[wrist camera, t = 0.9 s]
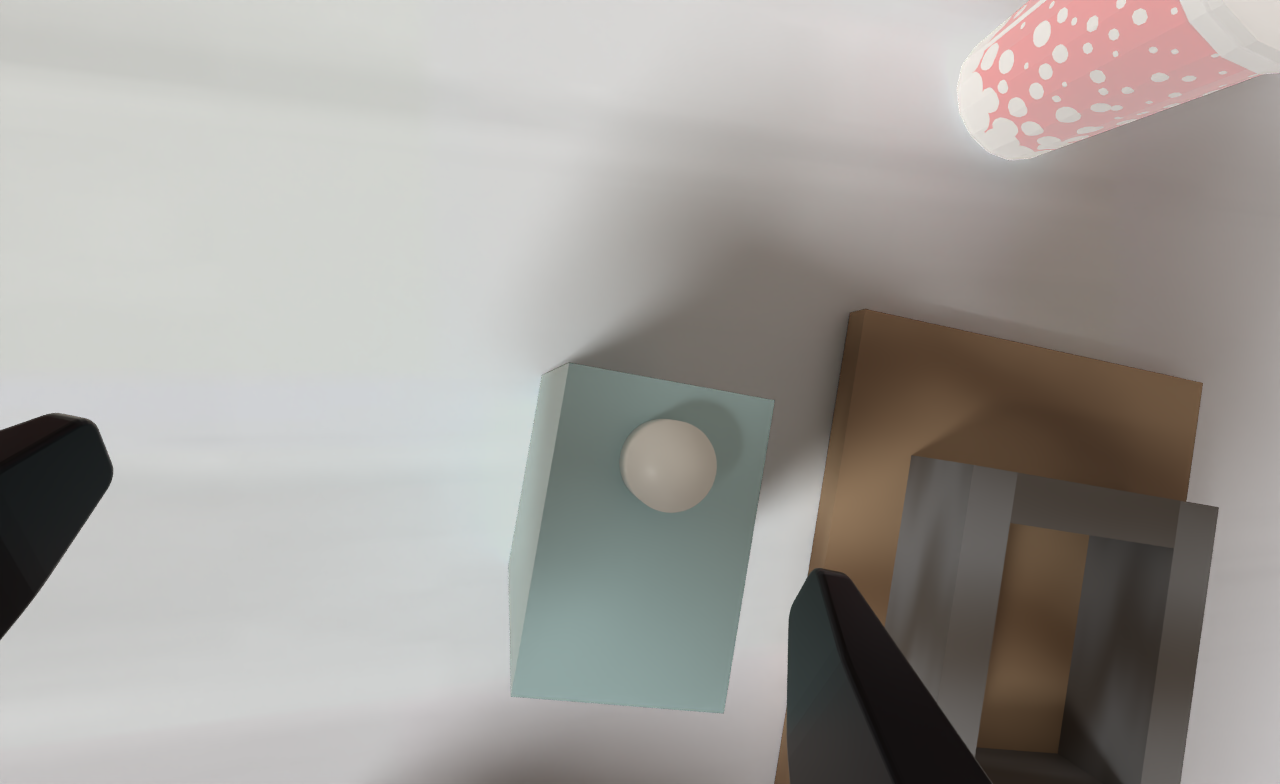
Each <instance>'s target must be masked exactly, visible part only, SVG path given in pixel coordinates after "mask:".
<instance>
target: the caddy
mask: <svg viewBox="0 0 1280 784" xmlns="http://www.w3.org/2000/svg"><path fill="white" fill-rule="evenodd" d="M1202 386H1203V383H1201V382H1196V381H1192V380H1187V379H1182V378H1178V377H1173V376H1169V375H1164V374H1160V373H1155V372H1151V371H1146V370H1141V369H1137V368H1132V367H1128V366H1123V365H1119V364H1114V363H1109V362H1105V361H1100V360H1096V359H1091V358H1087V357H1082V356H1078V355H1073V354H1068V353H1064V352H1059V351H1055V350H1050V349H1046V348H1041V347H1037V346H1032V345H1027V344H1023V343H1018V342H1014V341H1009V340H1005V339H1000V338H996V337H991V336H986V335H982V334H977V333H973V332H968V331H964V330H959V329H954V328H950V327H945V326H941V325H936V324H932V323H927V322H923V321H918V320H913V319H909V318H904V317H900V316H895V315H891V314H886V313H882V312H877V311H872V310H868V309H863V310H859V311H855V312H850V316H849V322H848V328H847V335H846V341H845V347H844V353H843V360H842V366H841V372H840V378H839V385H838V391H837V397H836V403H835V409H834V416H833V422H832V428H831V434H830V441H829V447H828V453H827V459H826V465H825V472H824V478H823V484H822V490H821V497H820V503H819V509H818V515H817V521H816V528H815V534H814V540H813V546H812V553H811V559H810V565H809V571H808V575H809V574H810V572H811V571H812V570H813V569H815V568H824V569H829V570H833V571H838V572H842V573H845V574H846V575H847V576H848V577H850V579H851V580H852V581H853V583H854V584H855V586H856V587H857V588H858V590H859V591H860V593H861V594H862V596H863V597H864V599H865V600H866V601H867V603H868V604H869V606H870V607H871V609H872V610H873V612H874V613H875V614H876V616H877V617H878V619H879V620H880V622H881V623H882V624H883V626H884V627H885V629H886V630H887V632H888V633H889V635H890V636H891V637H892V639H893V640H894V642H895V643H896V645H897V646H898V648H899V649H900V650H901V652H902V653H903V655H904V656H905V658H906V659H907V661H908V662H909V663H910V665H911V666H912V668H913V669H914V671H915V672H916V673H917V675H918V676H919V678H920V679H921V681H922V682H923V684H924V685H925V686H926V688H927V689H928V691H929V692H930V694H931V695H932V697H933V698H934V699H935V701H936V702H937V704H938V705H939V707H940V708H941V709H942V711H943V712H944V714H945V715H946V717H947V718H948V720H949V721H950V722H951V724H952V725H953V727H954V728H955V730H956V731H957V733H958V734H959V735H960V737H961V738H962V740H963V741H964V743H965V744H966V746H967V747H968V748H969V750H970V751H971V753H972V754H973V756H974V757H975V758H976V760H977V761H978V763H979V764H980V766H981V767H982V769H983V770H984V771H985V773H986V774H987V776H988V777H989V779H990V780H991V782H992V783H993V784H1180V781H1181V774H1182V767H1183V760H1184V752H1185V745H1186V738H1187V731H1188V724H1189V717H1190V709H1191V702H1192V695H1193V688H1194V681H1195V674H1196V666H1197V659H1198V652H1199V645H1200V638H1201V631H1202V623H1203V616H1204V609H1205V602H1206V595H1207V588H1208V580H1209V573H1210V566H1211V559H1212V552H1213V545H1214V537H1215V530H1216V523H1217V516H1218V509H1219V507H1213V506H1208V505H1202V504H1196V503H1190V502H1186V499H1187V492H1188V485H1189V478H1190V471H1191V464H1192V457H1193V450H1194V443H1195V436H1196V429H1197V422H1198V414H1199V407H1200V400H1201V393H1202ZM774 784H790V779H789V768H788V755H787V708H786V714H785V721H784V727H783V733H782V739H781V746H780V752H779V758H778V764H777V771H776V777H775V783H774Z"/></svg>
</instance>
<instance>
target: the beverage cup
mask: <svg viewBox="0 0 1280 784" xmlns="http://www.w3.org/2000/svg"><path fill="white" fill-rule="evenodd" d="M1278 73H1280V0H1029V1H1028V2H1027V3H1026V4H1025V5H1023V6H1022V7H1021V8H1020V9H1019V10H1018V11H1016V12H1015V13H1014V14H1013V15H1012V16H1011V17H1009V18H1008V19H1007V20H1006V21H1005V22H1003V23H1002V24H1001V25H1000V26H999V27H998V28H996V29H995V30H994V31H993V32H992V33H990V34H989V35H988V36H987V37H986V38H985V39H983V40H982V41H981V42H980V43H979V44H977V45H976V46H975V48H974V49H973V50H972V52H971V53H970V54H969V56H968V57H967V59H966V60H965V61H964V63H963V64H962V67H961V72H960V76H959V80H958V84H957V96H958V105H959V113H960V115H961V117H962V119H963V121H964V123H965V125H966V128H967V130H968V132H969V134H970V136H971V137H972V138H973V139H974V140H976V141H977V142H978V143H979V144H980V145H981V146H982V147H983V148H984V149H985V150H986V151H987V152H988V153H991V154H994V155H996V156H999V157H1001V158H1004V159H1006V160H1020V159H1030V158H1033V157H1036V156H1039V155H1041V154H1044V153H1047V152H1050V151H1052V150H1055V149H1058V148H1061V147H1064V146H1066V145H1069V144H1072V143H1075V142H1077V141H1080V140H1083V139H1086V138H1088V137H1091V136H1094V135H1097V134H1099V133H1102V132H1105V131H1108V130H1110V129H1113V128H1116V127H1119V126H1122V125H1124V124H1127V123H1130V122H1133V121H1135V120H1138V119H1141V118H1144V117H1146V116H1149V115H1152V114H1155V113H1157V112H1160V111H1163V110H1166V109H1168V108H1171V107H1174V106H1177V105H1180V104H1182V103H1185V102H1188V101H1191V100H1193V99H1196V98H1199V97H1202V96H1204V95H1207V94H1210V93H1213V92H1215V91H1218V90H1221V89H1224V88H1226V87H1229V86H1232V85H1235V84H1237V83H1240V82H1243V81H1246V80H1249V79H1251V78H1254V77H1257V76H1260V75H1262V74H1278Z"/></svg>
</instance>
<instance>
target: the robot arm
mask: <svg viewBox="0 0 1280 784" xmlns="http://www.w3.org/2000/svg"><path fill="white" fill-rule="evenodd" d="M112 477H113V465H112V462H111V460H110V457H109V455H108V452H107V450H106V447H105V445H104V442H103V439H102V437H101V434H100V432H99V429H98V427H97V426H96V424H95V423H93V422H92V421H91V420H89V419H86V418H81V417H76V416H72V415H67V414H61V413H51V414H46V415H43V416H40V417H37V418H34V419H32V420H29V421H26V422H23V423H20V424H17V425H14V426H12V427H9V428H6V429H3V430H0V640H1V639H2V637H3V636H4V635H5V634H6V633H7V631H8V630H9V629H10V628H11V626H12V625H13V624H14V623H15V622H16V620H17V619H18V618H19V617H20V615H21V614H22V613H23V612H24V610H25V609H26V608H27V607H28V605H29V604H30V603H31V601H32V600H33V599H34V598H35V596H36V595H37V593H38V592H39V591H40V589H41V588H42V586H43V585H44V583H45V582H46V581H47V579H48V578H49V576H50V575H51V573H52V572H53V570H54V569H55V567H56V566H57V564H58V563H59V561H60V560H61V558H62V557H63V555H64V554H65V552H66V551H67V549H68V548H69V546H70V545H71V543H72V542H73V540H74V539H75V537H76V536H77V534H78V533H79V531H80V530H81V528H82V527H83V525H84V524H85V522H86V521H87V519H88V518H89V516H90V515H91V513H92V512H93V510H94V509H95V507H96V506H97V504H98V503H99V501H100V500H101V498H102V497H103V495H104V494H105V492H106V491H107V489H108V487H109V485H110V483H111V481H112ZM787 755H788V768H789V779H790V784H993V783H992V782H991V780H990V779H989V777H988V776H987V774H986V773H985V771H984V770H983V769H982V767H981V766H980V764H979V763H978V761H977V760H976V758H975V757H974V756H973V754H972V753H971V751H970V750H969V748H968V747H967V746H966V744H965V743H964V741H963V740H962V738H961V737H960V735H959V734H958V733H957V731H956V730H955V728H954V727H953V725H952V724H951V722H950V721H949V720H948V718H947V717H946V715H945V714H944V712H943V711H942V709H941V708H940V707H939V705H938V704H937V702H936V701H935V699H934V698H933V697H932V695H931V694H930V692H929V691H928V689H927V688H926V686H925V685H924V684H923V682H922V681H921V679H920V678H919V676H918V675H917V673H916V672H915V671H914V669H913V668H912V666H911V665H910V663H909V662H908V661H907V659H906V658H905V656H904V655H903V653H902V652H901V650H900V649H899V648H898V646H897V645H896V643H895V642H894V640H893V639H892V637H891V636H890V635H889V633H888V632H887V630H886V629H885V627H884V626H883V624H882V623H881V622H880V620H879V619H878V617H877V616H876V614H875V613H874V612H873V610H872V609H871V607H870V606H869V604H868V603H867V601H866V600H865V599H864V597H863V596H862V594H861V593H860V591H859V590H858V588H857V587H856V586H855V584H854V583H853V581H852V580H851V579H850V577H848V576H847V575H846V574H845V573H842V572H838V571H833V570H829V569H824V568H815V569H813V570H812V571H811V572H810V574H809V575H808V577H807V579H806V581H805V583H804V584H803V586H802V588H801V590H800V592H799V593H798V595H797V597H796V599H795V600H794V602H793V604H792V607H791V610H790V615H789V628H788V675H787Z"/></svg>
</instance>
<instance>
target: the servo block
mask: <svg viewBox="0 0 1280 784" xmlns="http://www.w3.org/2000/svg"><path fill="white" fill-rule="evenodd" d="M774 402H775V400H771V399H765V398H760V397H754V396H749V395H743V394H738V393H732V392H727V391H722V390H716V389H711V388H705V387H700V386H694V385H689V384H683V383H678V382H672V381H667V380H661V379H656V378H651V377H645V376H640V375H634V374H629V373H623V372H618V371H612V370H607V369H601V368H596V367H591V366H585V365H580V364H574V363H567V364H565V365H563V366H561V367H559V368H557V369H554V370H552V371H550V372H548V373H546V374H544V375H542V377H541V383H540V389H539V394H538V400H537V406H536V411H535V417H534V423H533V428H532V434H531V440H530V445H529V451H528V457H527V462H526V468H525V474H524V479H523V485H522V491H521V496H520V502H519V508H518V513H517V519H516V525H515V531H514V536H513V542H512V548H511V553H510V559H509V565H508V573H509V624H510V676H511V697H522V698H535V699H547V700H560V701H572V702H585V703H598V704H610V705H623V706H635V707H648V708H660V709H673V710H685V711H698V712H710V713H723V714H724V708H725V702H726V696H727V690H728V684H729V678H730V672H731V666H732V659H733V653H734V647H735V641H736V635H737V629H738V623H739V617H740V610H741V604H742V598H743V592H744V586H745V580H746V574H747V568H748V561H749V555H750V549H751V543H752V537H753V531H754V525H755V519H756V512H757V506H758V500H759V494H760V488H761V482H762V476H763V470H764V463H765V457H766V451H767V445H768V439H769V433H770V427H771V421H772V414H773V408H774Z"/></svg>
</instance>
